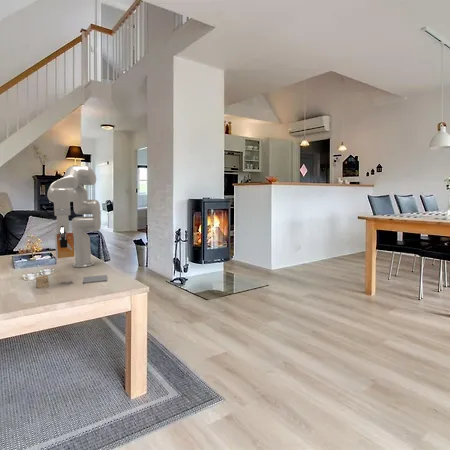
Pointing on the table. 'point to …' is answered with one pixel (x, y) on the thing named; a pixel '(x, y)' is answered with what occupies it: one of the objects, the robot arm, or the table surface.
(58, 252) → the small box
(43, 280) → the oak block
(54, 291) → the table surface
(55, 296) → the table surface
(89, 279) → the felt mat
